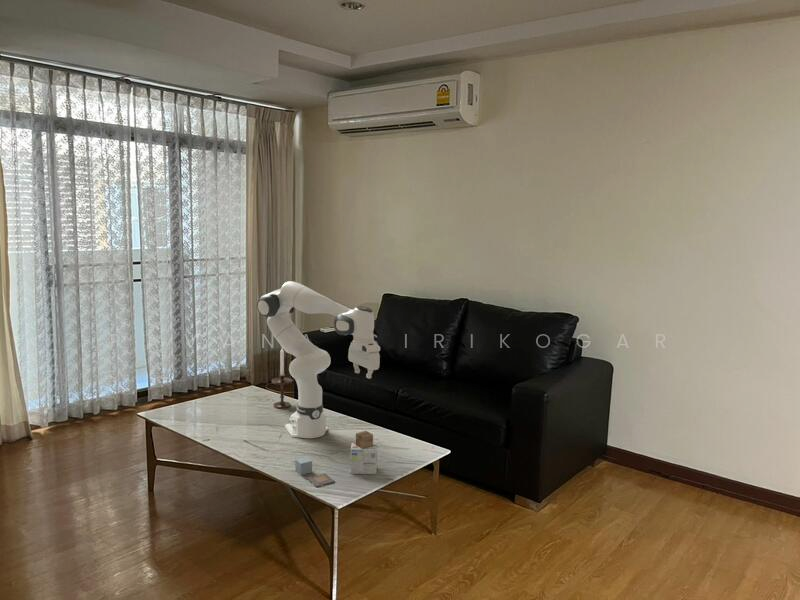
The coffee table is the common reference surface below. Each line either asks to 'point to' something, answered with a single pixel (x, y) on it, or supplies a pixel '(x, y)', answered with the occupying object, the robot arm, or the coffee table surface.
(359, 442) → the walnut block
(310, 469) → the slate block
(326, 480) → the tile
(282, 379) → the candlestick
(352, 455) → the light bulb box
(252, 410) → the coffee table surface
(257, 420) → the coffee table surface
